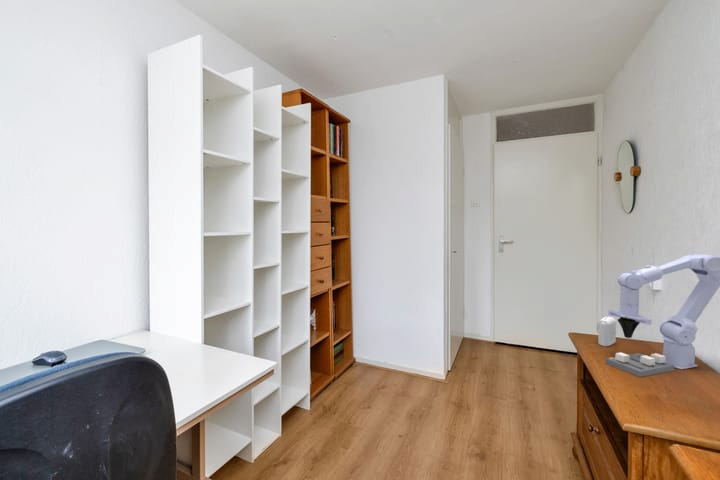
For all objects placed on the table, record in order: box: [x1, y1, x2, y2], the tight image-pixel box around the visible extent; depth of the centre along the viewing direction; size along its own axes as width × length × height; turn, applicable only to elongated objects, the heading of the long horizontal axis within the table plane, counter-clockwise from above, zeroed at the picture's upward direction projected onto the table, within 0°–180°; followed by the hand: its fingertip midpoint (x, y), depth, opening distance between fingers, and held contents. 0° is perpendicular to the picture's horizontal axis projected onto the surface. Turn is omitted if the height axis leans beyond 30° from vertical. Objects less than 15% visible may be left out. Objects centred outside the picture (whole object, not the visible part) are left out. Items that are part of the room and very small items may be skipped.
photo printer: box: [597, 316, 617, 347], centre depth 147 cm, size 10×4×12 cm, turn 123°
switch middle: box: [640, 354, 655, 366], centre depth 120 cm, size 3×3×2 cm
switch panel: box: [605, 352, 675, 378], centre depth 123 cm, size 20×12×2 cm, turn 107°
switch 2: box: [650, 352, 666, 363], centre depth 122 cm, size 3×3×2 cm
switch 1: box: [614, 352, 630, 362], centre depth 123 cm, size 3×3×2 cm
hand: (628, 337), depth 128 cm, fingers closed
